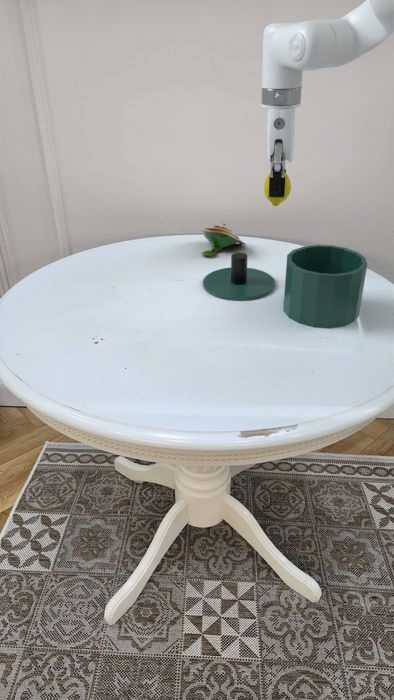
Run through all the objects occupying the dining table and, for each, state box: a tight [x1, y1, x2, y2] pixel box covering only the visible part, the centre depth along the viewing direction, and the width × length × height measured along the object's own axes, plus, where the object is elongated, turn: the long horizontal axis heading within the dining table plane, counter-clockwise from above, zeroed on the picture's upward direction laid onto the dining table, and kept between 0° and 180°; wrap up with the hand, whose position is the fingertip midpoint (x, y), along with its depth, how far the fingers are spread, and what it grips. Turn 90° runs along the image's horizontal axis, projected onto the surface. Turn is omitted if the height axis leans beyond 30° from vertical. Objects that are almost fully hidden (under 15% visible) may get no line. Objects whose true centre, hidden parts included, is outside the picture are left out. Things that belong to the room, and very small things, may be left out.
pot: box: [282, 244, 368, 329], centre depth 96 cm, size 14×14×10 cm
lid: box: [202, 252, 276, 302], centre depth 107 cm, size 15×15×7 cm
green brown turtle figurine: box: [193, 223, 247, 258], centre depth 123 cm, size 15×13×8 cm
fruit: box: [263, 172, 292, 207], centre depth 111 cm, size 6×6×8 cm
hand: (277, 191), depth 112 cm, fingers closed on fruit, 5 cm apart
